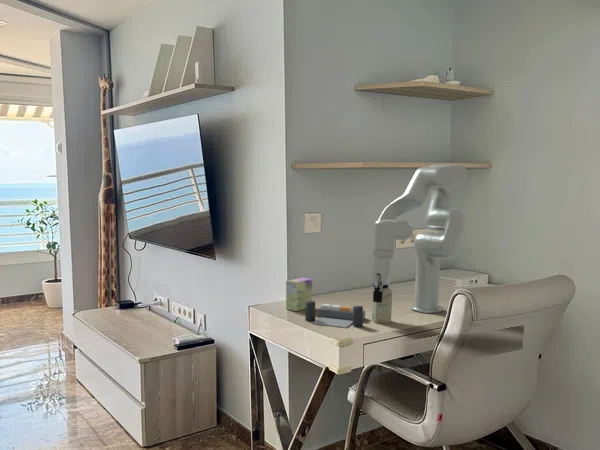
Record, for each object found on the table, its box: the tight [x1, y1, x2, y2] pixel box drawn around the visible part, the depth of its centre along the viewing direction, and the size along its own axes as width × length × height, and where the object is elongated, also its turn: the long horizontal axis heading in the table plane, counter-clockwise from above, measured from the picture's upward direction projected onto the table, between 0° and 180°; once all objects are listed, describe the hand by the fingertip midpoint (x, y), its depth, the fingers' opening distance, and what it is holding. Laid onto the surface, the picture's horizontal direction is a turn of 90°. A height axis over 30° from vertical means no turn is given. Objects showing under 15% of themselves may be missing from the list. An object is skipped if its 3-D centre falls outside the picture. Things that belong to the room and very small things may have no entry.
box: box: [285, 277, 313, 312], centre depth 226 cm, size 10×6×12 cm, turn 141°
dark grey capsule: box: [352, 305, 364, 328], centre depth 200 cm, size 4×4×7 cm
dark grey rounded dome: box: [305, 300, 316, 323], centre depth 207 cm, size 4×4×7 cm
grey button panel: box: [312, 303, 366, 329], centre depth 207 cm, size 16×17×4 cm
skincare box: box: [371, 287, 393, 324], centre depth 206 cm, size 6×4×12 cm
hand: (380, 299), depth 206 cm, fingers open, 9 cm apart
